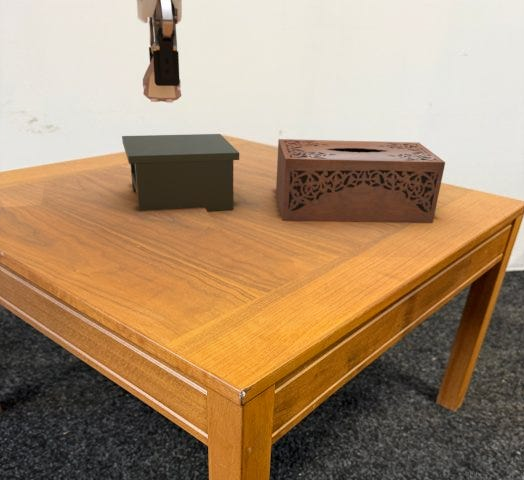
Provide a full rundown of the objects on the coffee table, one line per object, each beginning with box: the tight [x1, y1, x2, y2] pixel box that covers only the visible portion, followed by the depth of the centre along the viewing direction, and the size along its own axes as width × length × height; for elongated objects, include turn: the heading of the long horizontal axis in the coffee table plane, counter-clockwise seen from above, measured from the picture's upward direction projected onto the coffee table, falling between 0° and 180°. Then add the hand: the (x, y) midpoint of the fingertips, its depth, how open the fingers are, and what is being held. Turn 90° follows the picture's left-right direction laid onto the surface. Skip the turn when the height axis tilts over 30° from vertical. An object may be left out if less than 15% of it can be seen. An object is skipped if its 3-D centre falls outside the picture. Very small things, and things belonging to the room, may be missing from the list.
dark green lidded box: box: [121, 133, 240, 212], centre depth 97 cm, size 18×15×10 cm
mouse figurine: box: [142, 43, 182, 104], centre depth 75 cm, size 5×8×7 cm, turn 6°
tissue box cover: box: [275, 138, 446, 224], centre depth 96 cm, size 26×14×10 cm, turn 93°
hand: (164, 81), depth 74 cm, fingers closed on mouse figurine, 4 cm apart
